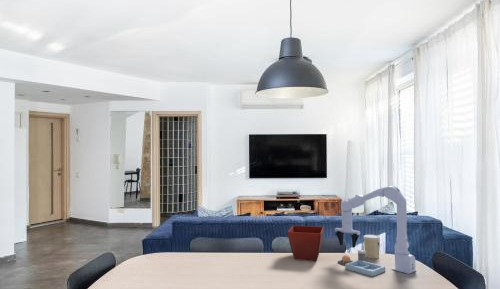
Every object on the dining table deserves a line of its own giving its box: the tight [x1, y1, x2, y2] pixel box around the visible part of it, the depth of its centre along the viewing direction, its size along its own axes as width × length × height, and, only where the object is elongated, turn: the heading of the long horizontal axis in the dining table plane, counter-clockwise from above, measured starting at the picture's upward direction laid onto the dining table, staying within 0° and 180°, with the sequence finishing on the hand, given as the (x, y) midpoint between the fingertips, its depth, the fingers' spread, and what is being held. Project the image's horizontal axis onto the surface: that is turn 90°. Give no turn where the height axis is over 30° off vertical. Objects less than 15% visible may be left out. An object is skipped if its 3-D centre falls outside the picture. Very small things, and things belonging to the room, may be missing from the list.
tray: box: [344, 259, 386, 277], centre depth 183 cm, size 16×12×2 cm
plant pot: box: [287, 225, 324, 262], centre depth 207 cm, size 19×19×17 cm
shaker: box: [357, 249, 367, 262], centre depth 196 cm, size 4×4×6 cm
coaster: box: [337, 259, 354, 266], centre depth 195 cm, size 7×7×1 cm
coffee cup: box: [363, 234, 381, 259], centre depth 208 cm, size 9×9×12 cm
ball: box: [341, 254, 351, 263], centre depth 195 cm, size 4×4×4 cm
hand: (347, 246), depth 197 cm, fingers open, 7 cm apart
